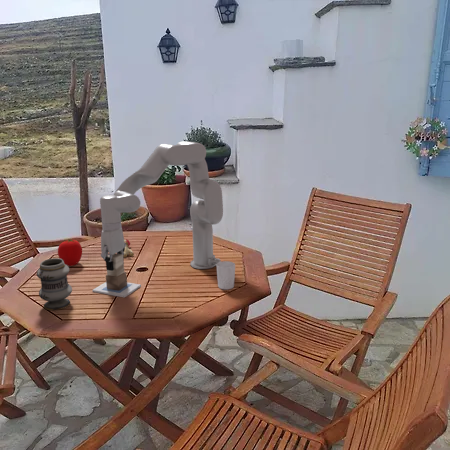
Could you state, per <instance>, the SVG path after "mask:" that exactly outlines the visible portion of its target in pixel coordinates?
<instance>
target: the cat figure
mask: <svg viewBox="0 0 450 450" xmlns="http://www.w3.org/2000/svg"><path fill="white" fill-rule="evenodd" d="M124 242H125V243H126V247H125V250H124V255H123V258H127V257H128V255H129V257H130V256H131V257H133V256H135V253H134V252H133V250H132V249H131V248H129V247H130V246H131V242H130V240H129V239H128V238H124Z"/></svg>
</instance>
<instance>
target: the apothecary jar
mask: <svg viewBox="0 0 450 450" xmlns="http://www.w3.org/2000/svg"><path fill="white" fill-rule="evenodd" d="M69 273H70V266H67V265H66V264H64V261H63V259H60V258H59V257H53V258H48V259H44V260H42V261H40V264H39V268H38V269H37V270H36V276H37V278H38V279H40V284H41V286H40V287H41V288H40V289H39V292H38V296H39V297H40V299H41V300H43V301H46V302H45V303H44V304H43V308H44V309H45V310H48V311H55V310H63V309H65V308H68V307H69V306H70V304H71V300H70V299H68V297H70V296H71V294H72V293H73V292H72V291H73V288H72V285H70V283H69V282H68V274H69Z"/></svg>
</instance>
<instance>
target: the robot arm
mask: <svg viewBox="0 0 450 450" xmlns="http://www.w3.org/2000/svg"><path fill="white" fill-rule="evenodd" d="M206 156H207V149H206V147H205V145H203V144H202V143H201V142H200V143H199V142H196V141H195V142H194V141H187V140H185V141H184V140H182V141H179V142H177V143H176V144H169V143H161V144H159V145H158V146H157V147H156V148H155V149H154V151H152V153H151V154H150V156H148V158H147V159H146V160H145V162H144V163H143V165H142V166H141V167H140V168H139V169H137V171H135V172H133V173H132V174H130V176H128V177H127V178H125V179H124V181H122V182H121V184H120V185H119V186H118V187H117V188H116V191H114V193H113V194H107V195H106V194H105V195H103V196H101V197H100V199H99V204H100V205H99V206H100V214H101V215H100V216H101V226H102V230H101V232H100V233H101V234H100V250H101V251H100V252H101V254H100V257H101V258H102V260H104V262H105V269H106V271H107V270H110V271H113V270H114V268H113V261H112V257H113V254H122V255H124V250H125V247H126V242H124V240H125V239H124V231H123V228H122V217H121V215H122V214H121V213H134V212H136V211H137V210H139V208H140V207H141V199H140V197H139V196H137V195H136V193H137V192H138V191H140V189H142V188H144V187H146V186H149V185H152V184H154V183H156V182H157V181H158V180H159V179H160V177H161V176H162V174H163V173H164V172H165V171H166V169H167V168H168V167H169V166H174V167H175V166H176V167H177V166H187V168H188V171H189V172H188V173H189V182H190V192H191V194H192V196H193V197H195V198H197V199H198V200H195V201H193V202H192V204H191V205H190V206H189V207H190V208H189V214H190V215H189V216H190V220H191V224H192V225H191V226H192V227H191V228H192V252H193V255H192V258H193V260H191V261H190V262H189V263H190V266H191V267H192V268H193V269H198V270H206V269H212V268H214V267H217V266H216V264H217V263H219V262H222V261H221V258H217V257H216V255H215V254H214V236H213V235H214V232H213V231H214V230H213V229H214V228H213V225H217V224H219V223H220V222H221V221H222V220H223V216H224V207H223V206H224V203H223V192H222V191H223V190H222V187H221V185H220V184H219V183H218V182H217V181H216V180H213V179H210V175H209V169H208V168H209V167H208V163H207V161H206ZM109 255H110V257H108V256H109ZM124 259H125V257H123V261H124ZM124 262H125V261H124Z"/></svg>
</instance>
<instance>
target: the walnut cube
mask: <svg viewBox="0 0 450 450" xmlns="http://www.w3.org/2000/svg"><path fill="white" fill-rule="evenodd" d="M105 282H106V284H107V289H112V290H117V291H119V290H121V289H122V288H124V287H125V286H127V282H128V276H127V271H124V273H123V274H121V275H119V276H118V277H116V276H110V275H107V274H105Z"/></svg>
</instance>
